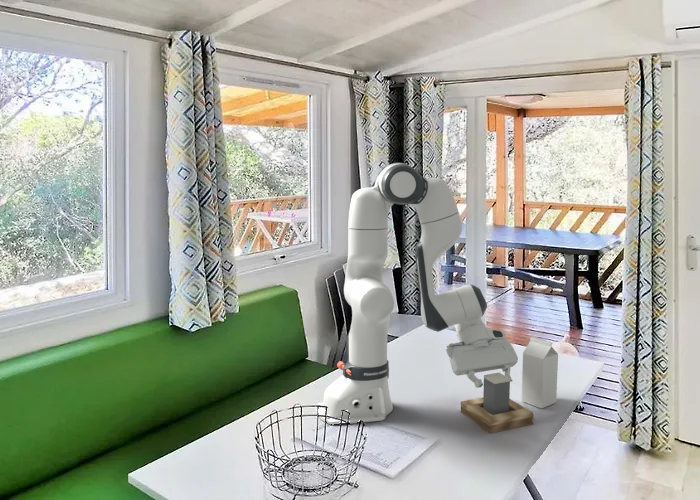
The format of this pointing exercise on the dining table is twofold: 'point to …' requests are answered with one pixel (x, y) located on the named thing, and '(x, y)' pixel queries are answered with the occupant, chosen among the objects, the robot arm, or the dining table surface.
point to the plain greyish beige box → (496, 393)
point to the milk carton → (539, 373)
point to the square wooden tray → (499, 421)
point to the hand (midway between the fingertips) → (494, 384)
